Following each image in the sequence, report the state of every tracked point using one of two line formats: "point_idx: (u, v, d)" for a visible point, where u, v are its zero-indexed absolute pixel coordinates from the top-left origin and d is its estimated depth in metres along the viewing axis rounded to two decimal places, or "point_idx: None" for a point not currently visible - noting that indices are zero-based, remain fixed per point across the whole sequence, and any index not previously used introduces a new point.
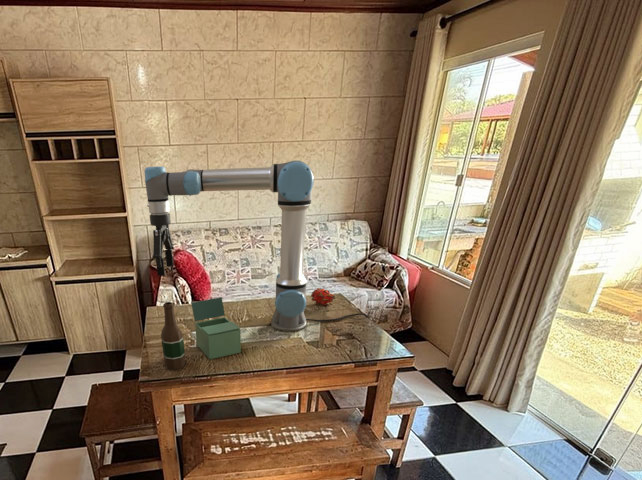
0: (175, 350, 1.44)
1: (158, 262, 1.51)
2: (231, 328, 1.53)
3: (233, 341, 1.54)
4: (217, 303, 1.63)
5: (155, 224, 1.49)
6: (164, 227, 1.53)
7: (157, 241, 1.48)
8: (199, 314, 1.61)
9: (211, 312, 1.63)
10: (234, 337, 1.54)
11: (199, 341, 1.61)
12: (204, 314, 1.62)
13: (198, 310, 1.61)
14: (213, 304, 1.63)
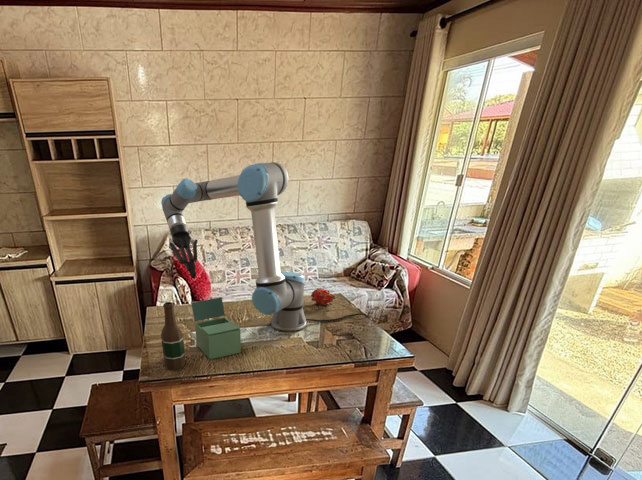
0: (175, 350, 1.44)
1: (186, 266, 1.70)
2: (231, 328, 1.53)
3: (233, 341, 1.54)
4: (217, 303, 1.63)
5: (172, 237, 1.74)
6: (183, 237, 1.73)
7: (174, 251, 1.71)
8: (199, 314, 1.61)
9: (211, 312, 1.63)
10: (234, 337, 1.54)
11: (199, 341, 1.61)
12: (204, 314, 1.62)
13: (198, 310, 1.61)
14: (213, 304, 1.63)
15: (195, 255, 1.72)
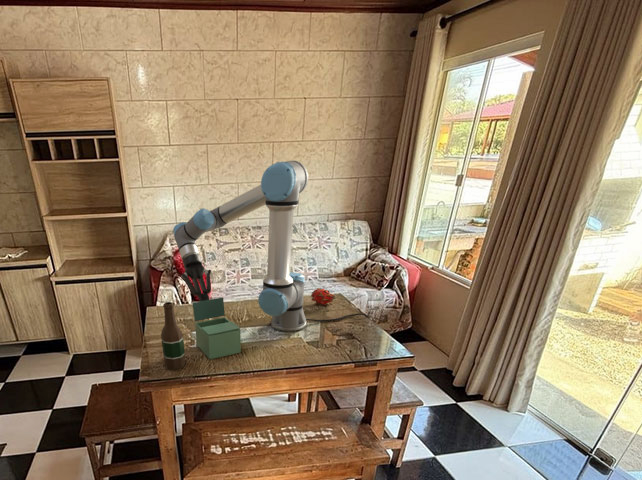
0: (175, 350, 1.44)
1: (199, 298, 1.64)
2: (231, 328, 1.53)
3: (233, 341, 1.54)
4: (218, 303, 1.62)
5: (184, 267, 1.67)
6: (196, 267, 1.66)
7: (187, 282, 1.64)
8: (199, 314, 1.61)
9: (211, 312, 1.62)
10: (234, 337, 1.54)
11: (199, 341, 1.61)
12: (204, 314, 1.61)
13: (199, 310, 1.60)
14: (214, 304, 1.62)
15: (209, 286, 1.65)
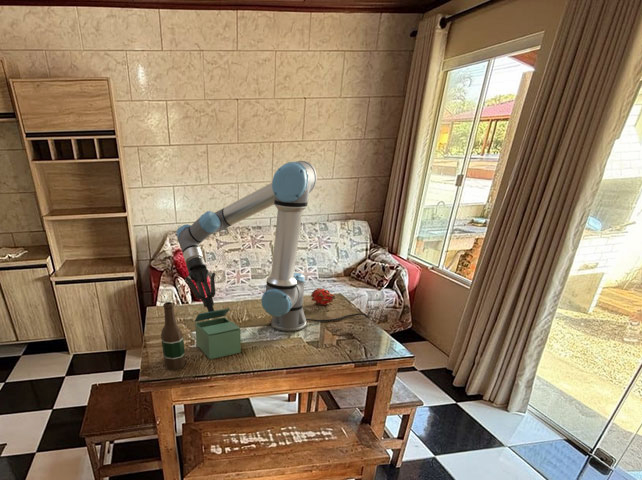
0: (175, 350, 1.44)
1: (203, 302, 1.60)
2: (231, 328, 1.53)
3: (233, 341, 1.54)
4: (223, 312, 1.59)
5: (188, 271, 1.63)
6: (200, 270, 1.63)
7: (190, 286, 1.60)
8: (201, 318, 1.59)
9: (213, 316, 1.61)
10: (234, 337, 1.54)
11: (199, 341, 1.61)
12: (206, 318, 1.60)
13: (202, 316, 1.58)
14: (219, 312, 1.59)
15: (213, 290, 1.61)
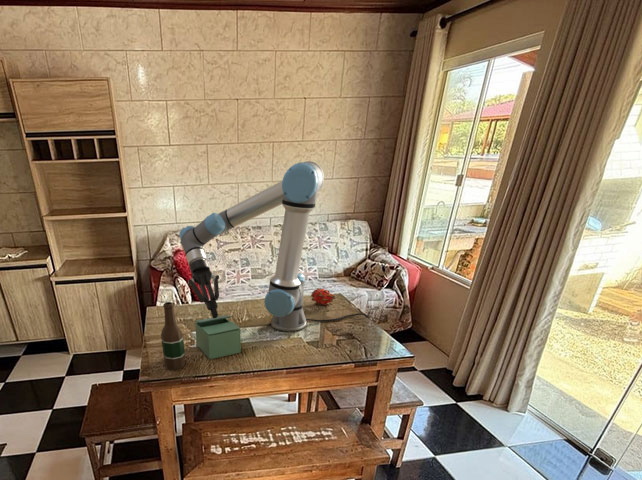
0: (175, 350, 1.44)
1: (206, 305, 1.57)
2: (231, 328, 1.53)
3: (233, 341, 1.54)
4: None
5: (191, 273, 1.60)
6: (204, 272, 1.59)
7: (194, 288, 1.57)
8: (202, 321, 1.59)
9: None
10: (234, 337, 1.54)
11: (199, 341, 1.61)
12: (206, 320, 1.60)
13: (203, 321, 1.58)
14: (220, 318, 1.59)
15: (217, 293, 1.58)
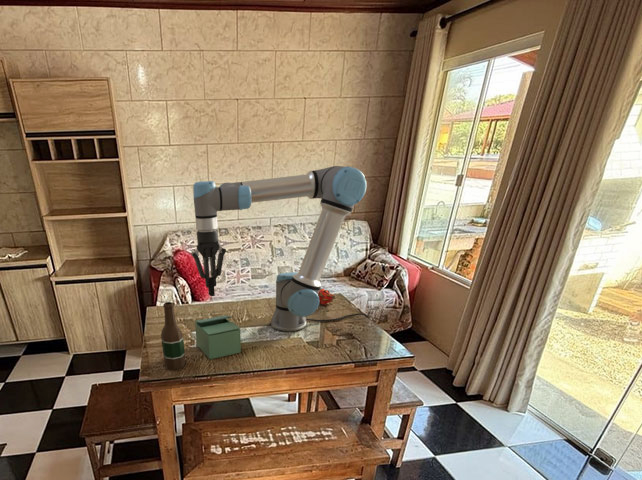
0: (175, 350, 1.44)
1: (205, 282, 1.51)
2: (231, 328, 1.53)
3: (233, 341, 1.54)
4: None
5: (197, 240, 1.44)
6: (211, 245, 1.44)
7: (196, 263, 1.46)
8: (202, 321, 1.59)
9: (214, 318, 1.61)
10: (234, 337, 1.54)
11: (199, 341, 1.61)
12: (206, 320, 1.60)
13: None
14: None
15: (219, 270, 1.50)
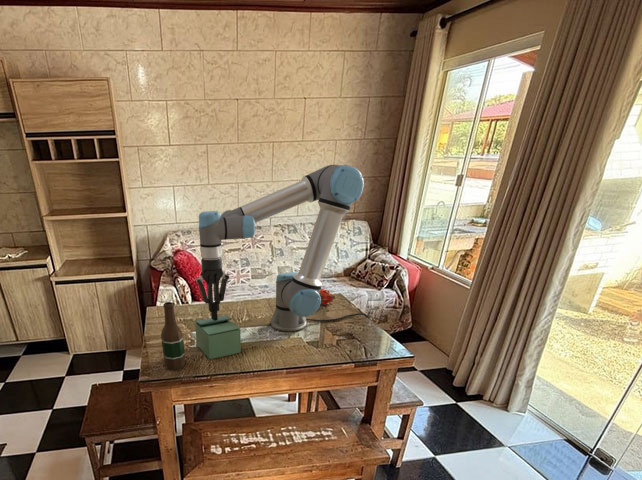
0: (175, 350, 1.44)
1: (209, 307, 1.54)
2: (231, 328, 1.53)
3: (233, 341, 1.54)
4: None
5: None
6: (215, 272, 1.48)
7: (200, 289, 1.50)
8: None
9: None
10: (234, 337, 1.54)
11: (199, 341, 1.61)
12: None
13: None
14: None
15: (222, 296, 1.53)
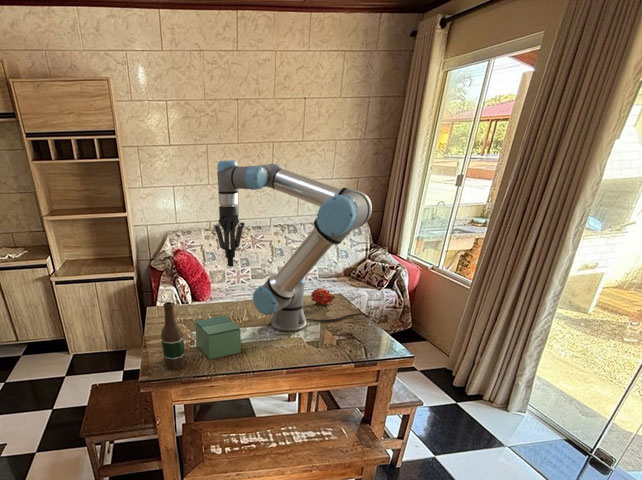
0: (175, 350, 1.44)
1: (225, 253, 1.67)
2: (231, 328, 1.53)
3: (233, 341, 1.54)
4: None
5: (219, 214, 1.60)
6: (231, 219, 1.60)
7: (218, 235, 1.62)
8: None
9: None
10: (234, 337, 1.54)
11: (199, 341, 1.61)
12: None
13: None
14: None
15: (238, 243, 1.66)
